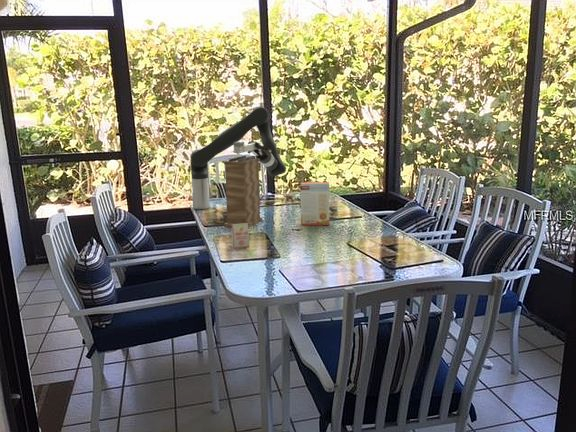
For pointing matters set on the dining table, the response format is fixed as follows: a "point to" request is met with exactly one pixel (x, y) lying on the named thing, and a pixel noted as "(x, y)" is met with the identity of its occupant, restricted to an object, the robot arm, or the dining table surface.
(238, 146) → the steel bar
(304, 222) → the cracker box
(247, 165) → the walnut stand
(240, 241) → the small beige carton
